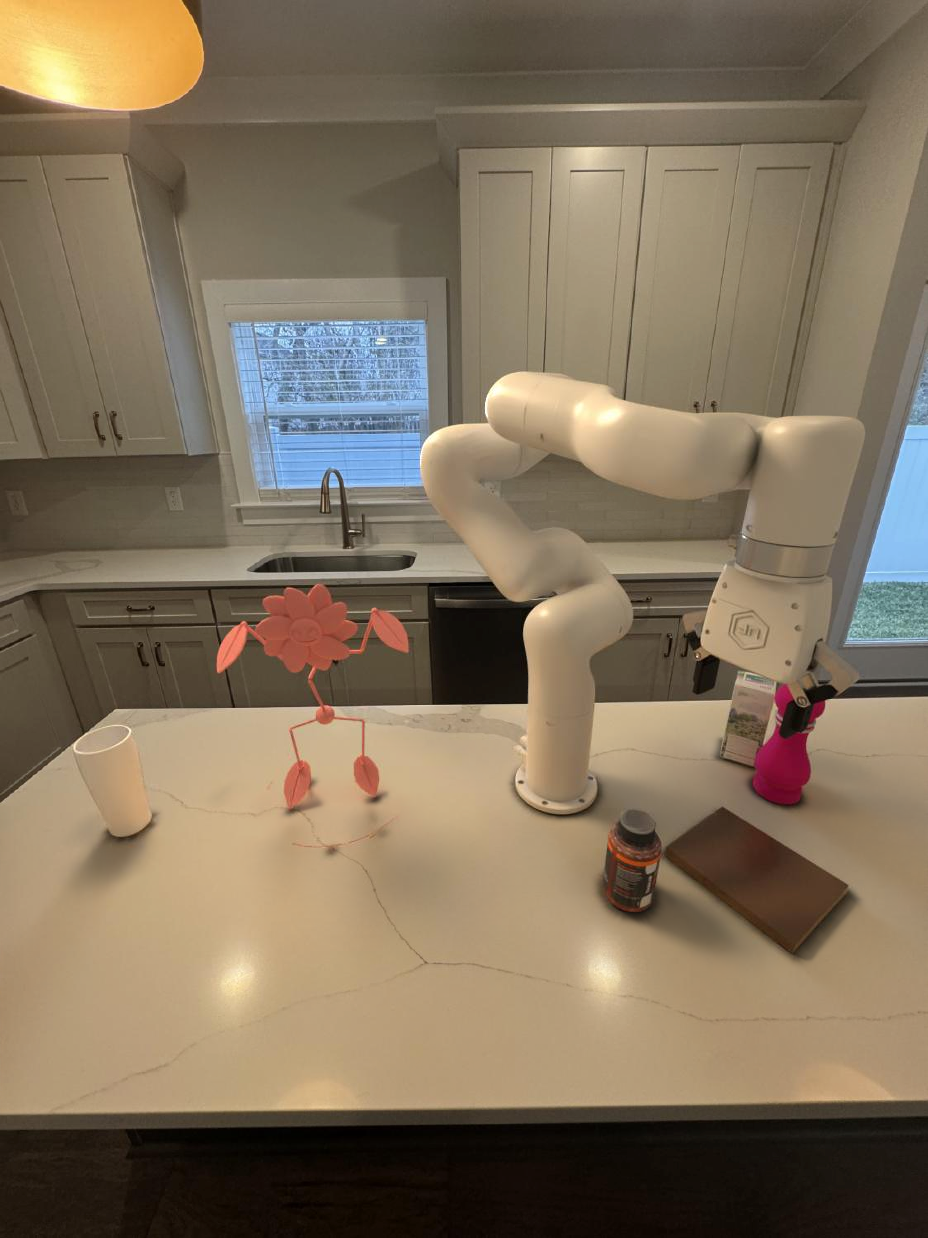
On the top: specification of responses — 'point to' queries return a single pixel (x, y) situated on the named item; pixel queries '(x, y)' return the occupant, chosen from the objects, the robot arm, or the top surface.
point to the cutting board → (758, 876)
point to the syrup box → (748, 718)
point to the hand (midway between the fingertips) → (743, 710)
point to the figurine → (313, 662)
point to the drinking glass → (114, 778)
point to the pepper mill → (784, 757)
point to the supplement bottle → (632, 861)
